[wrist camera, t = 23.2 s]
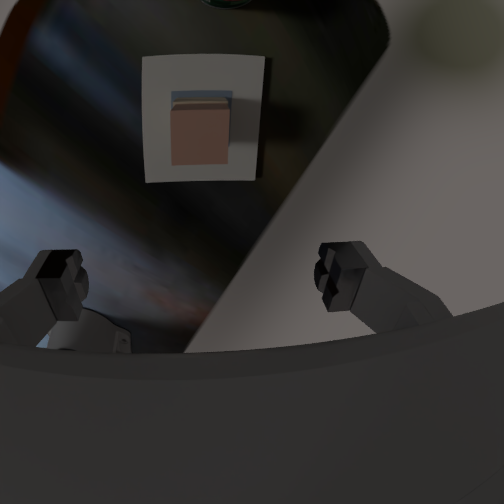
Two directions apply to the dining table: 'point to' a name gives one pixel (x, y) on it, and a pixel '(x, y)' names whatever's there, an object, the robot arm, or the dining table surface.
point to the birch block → (199, 100)
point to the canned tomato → (225, 3)
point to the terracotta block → (199, 134)
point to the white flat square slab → (201, 85)
